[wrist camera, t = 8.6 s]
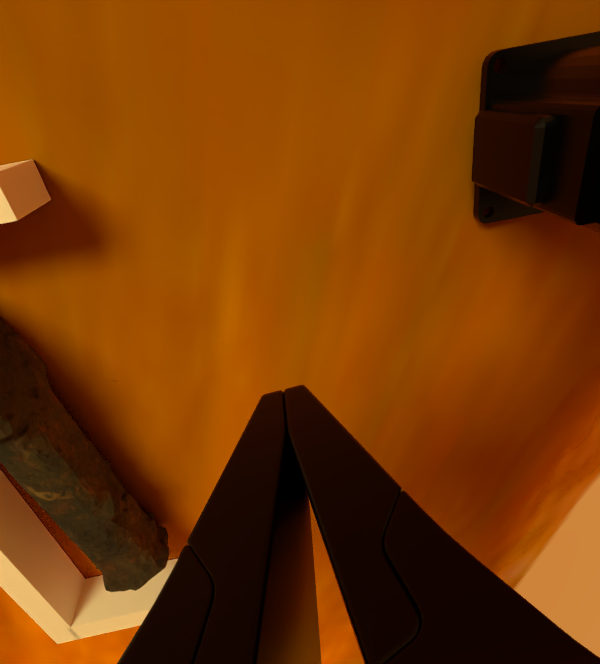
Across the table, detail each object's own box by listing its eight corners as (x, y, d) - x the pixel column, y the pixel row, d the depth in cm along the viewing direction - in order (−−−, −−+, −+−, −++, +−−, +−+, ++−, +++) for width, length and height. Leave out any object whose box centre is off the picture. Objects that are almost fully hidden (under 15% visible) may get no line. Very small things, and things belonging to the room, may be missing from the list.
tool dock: (32, 159, 16) (-7, 173, 13) (217, 563, 30) (216, 608, 27) (-248, 211, 15) (-345, 237, 13) (72, 595, 29) (57, 643, 27)
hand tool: (175, 524, 27) (166, 598, 23) (116, 539, 27) (96, 616, 23) (13, 253, 18) (-50, 301, 14) (-80, 277, 18) (-172, 332, 14)
